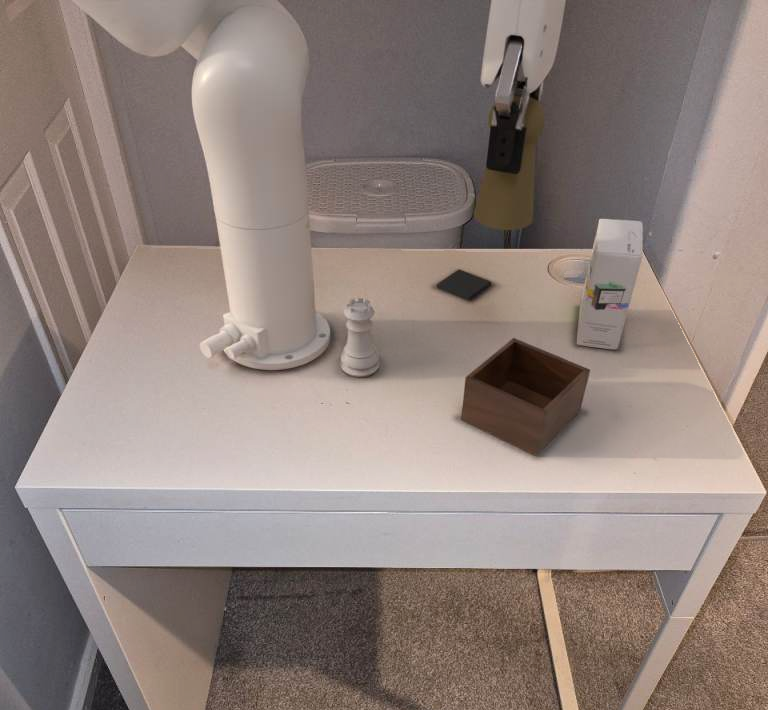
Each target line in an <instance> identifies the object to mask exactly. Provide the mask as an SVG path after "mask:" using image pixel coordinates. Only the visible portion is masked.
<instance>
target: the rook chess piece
mask: <svg viewBox="0 0 768 710" xmlns="http://www.w3.org/2000/svg"><path fill="white" fill-rule="evenodd" d="M375 313H376V312H375V309H374V307H373V306H372V303H371V301H370V300H369V299H368V298H366V299H364V297H359V296H358V297H357V301H356V299H355V298H354V297H352V298H350V299H349V301H347V303H346V307H345V308H344V309H343V315H344V316H345V317H346V319H347V321H346V323H345V326H346V328H347V339H346V344H345V345H344V348H343V349H342V351H341V353H340V359H339V360H340V363H339V366H340V368H341V370H342V371H343V373H345V374H347V375H348V376H350V377H353V378H359V379H361V378H367V377H370V376H372V375H374V374H375V373H376V372H377V371H378V370H379V368H380V365H381V362H380V354H379V352H378V350H377V348H376V346H375V344H374V343H373V338H372V327H373V322H372V320H371V319H372V318H373V316H374V315H375Z"/></svg>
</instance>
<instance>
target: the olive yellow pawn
mask: <svg viewBox="0 0 768 710" xmlns="http://www.w3.org/2000/svg"><path fill="white" fill-rule="evenodd" d="M520 99H521V97H518V96H514V100H513V102H517V106H519V105H520ZM494 104H495V102H494V103H493V104H492V105H491V108H490V111H489V114H488V119H487V123H488V130H489V131H490V128H491V122H492V115H493V110H494ZM518 110H519V109H518ZM545 121H546V112H545V108H544V106H543V104H542V103H541V102H539V101H537V100H536V99H533V98H531V97H529V100H528V105H527V111H526V116H525V121H524V126H523V127H526V128H527V130H526V137H525V143H524V150H523V157H522V164H521V169H520V171H519V173H518V174H511V173H505V172H499V171H493V170H489V169H487V167H486V165H485V166H484V170H483V174H482V175H483V176H482V178H481V182H480V185H479V186H480V187H479V189H478V195H477V199H476V203H475V208H474V210H473V217H474V220H475V221H476V222H477V223H478V224H480V225H482V226H484V227H487V228H491V229H493V230H501V231H515V230H521V229H524V228H526V227H529V226H530V225H531V224H532V223H533V220H534V201H535V200H534V197H535V173H536V170H535V169H536V143H537V139H538V138H539V137H540V136H541V135H542V133H543V130H544V126H545Z"/></svg>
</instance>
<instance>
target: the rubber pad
mask: <svg viewBox="0 0 768 710" xmlns="http://www.w3.org/2000/svg"><path fill="white" fill-rule="evenodd" d="M491 284H492V281H491V280H488V279H486V278H483V277H482V276H481V277H480V276H478V275H475V274H473V273H470V272H467V271H465V270H462V269H457V270H456V271H454V272H452V273H451V274H450V275H448V276H447V277H445V278H444V279H442V280H441V281H440V282H438V283H436V288H437V289H439V290H441V291H444V292H446V293H449V294H452V295H454V296H456V297H459V298H461V299H464V300H466V301H470V300H472V299H474V297H476V296H478V295H479V294H480V293H482V292H483V291H484V290H486V289H487V288H488V287H490V286H491Z"/></svg>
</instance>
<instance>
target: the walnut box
mask: <svg viewBox="0 0 768 710" xmlns="http://www.w3.org/2000/svg"><path fill="white" fill-rule="evenodd" d="M590 373H591V369H590V368H588V367H585V366H582V365H580V364H579V363H575V362H573V361H570V360H568V359H566V358H563V357H560V356H559V355H556V354H553V353H552V352H549V351H546V350H544V349H542V348H539V347H537V346H535V345H532V344H529V343H527V342H524V341H523V340H520V339H517V338H515V337H512V338H511V339H510V340H509V341H507V342H506V343H505V344H504V345H503V346H502V347H501V348H499V349H498V350H497V351H495V352H494V353H493V354H492V355H491V356H489V357H488V358H487V359H486V360H484V361H483V362H482V363H481V364H479V365H478V366H477V367H476V368H475V369H474V370H473V371H471V372H470V373H469V374H467V375H466V376H465V379H464V389H463V398H462V405H461V406H462V407H461V415H460V416H461V417H460V420H461V421H462V422H464V423H466V424H468V425H470V426H473V427H475V428H477V429H479V430H481V431H483V432H485V433H487V434H489V435H491V436H493V437H495V438H498V439H499V440H501V441H503V442H506V443H507V444H510V445H512V446H514V447H516V448H518V449H520V450H522V451H524V452H526V453H528V454H530V455H532V456H534V457H537V456H538V455H539V454H540V453H541V452H542V451H544V449H545V448H547V446H548V445H549V444H550V443H551V442H552V441H553V440H554V439H555V438H556V437H557V436H558V435H559V434H560V433H561V432H562V431H563V430H564V429H565V428H566V427H567V426H568V425H569V424H570V423H571V422H572V421H573V420H574V419H575V418H576V417H577V415H579V414H580V413H581V409H582V404H583V401H584V397H585V393H586V389H587V386H588V381H589V376H590Z"/></svg>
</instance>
